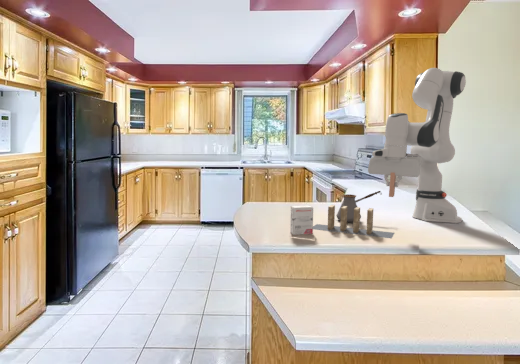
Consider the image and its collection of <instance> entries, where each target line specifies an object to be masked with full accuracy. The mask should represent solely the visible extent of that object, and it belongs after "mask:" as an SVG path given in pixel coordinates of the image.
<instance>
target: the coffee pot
mask: <svg viewBox="0 0 520 364" xmlns="http://www.w3.org/2000/svg"><path fill="white" fill-rule="evenodd" d="M378 194H380V196H381V195H383V193H382V191H381V190H378V191H375V192H373V193H370V194H367V195H365V196H364V197H361V198H359V199H356V197H357V195H356V194H347V193H346V194H342V197H343V200H342V202H341V205H340V207H339V209H338V211H337V214H335V217H336V218H337V220H338V221H341V207H343V206H347V224H348V223H352V224H353V222H354V209H355V208H356V207H358V205H357V203H358V202H360V201H362V200H365V199H368V198H371V197H374V196H375V195H378ZM361 218H362V216H361V214H360V219H361Z"/></svg>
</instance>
